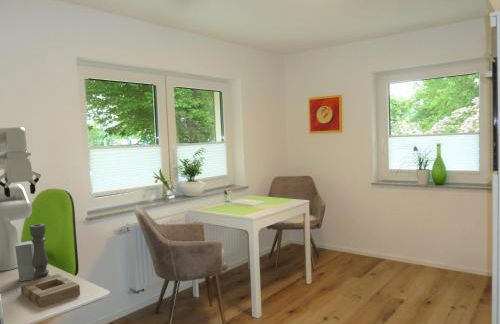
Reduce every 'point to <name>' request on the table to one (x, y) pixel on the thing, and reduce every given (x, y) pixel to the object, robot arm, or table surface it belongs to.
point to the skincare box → (25, 260)
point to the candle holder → (39, 251)
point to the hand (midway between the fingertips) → (20, 195)
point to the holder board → (50, 290)
